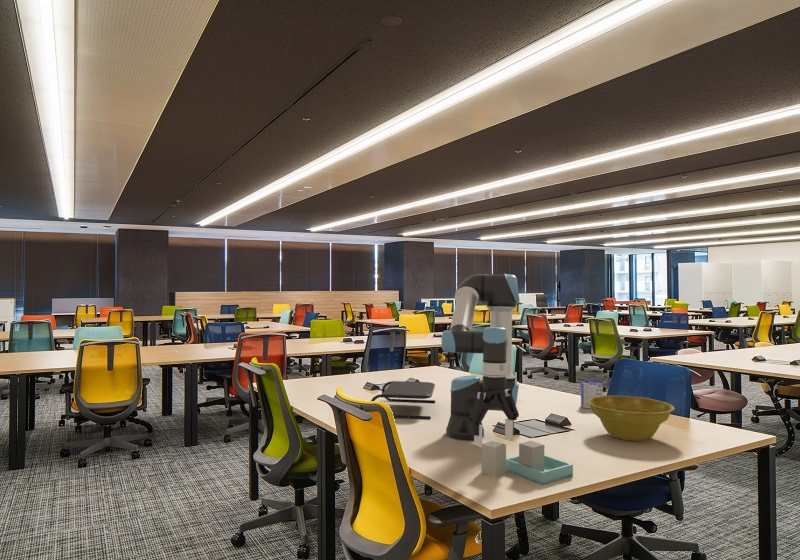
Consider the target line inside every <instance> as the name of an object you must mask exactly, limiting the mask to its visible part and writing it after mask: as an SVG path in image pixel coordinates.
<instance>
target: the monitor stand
mask: <svg viewBox="0 0 800 560" xmlns="http://www.w3.org/2000/svg"><path fill="white" fill-rule="evenodd" d="M435 388H436V384H435V383H433V382H428V381H404V380H403V381H401V380H399V381H397V380H391V381H388V382H386V383H385V384H384V385H383V386H382V388H381V393H380V394H377V395H375V396H374V397H372V398H371V399H370V402H371V401H374V402H375V401H376V400H377V399H379V398H384V399H385V400H386V401H388V402H396V403H400V402H401V403H403V402H404V403H423V404H424V403H425V404H428V403H429V404H436V400H435V399H433V400H432V399H431V397H432V396H433V393H434V390H435ZM430 399H431V400H430ZM393 415H394V418H393V419H409V420H410V419H412V420H413V419H414V420H431V419H432V417H431V416H429V415H428V416H427V415H408V414H406V415H404V414H393Z"/></svg>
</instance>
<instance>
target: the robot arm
mask: <svg viewBox="0 0 800 560" xmlns="http://www.w3.org/2000/svg"><path fill="white" fill-rule="evenodd" d="M518 287H519V285H518V279H517V276H516V275H514V274H509V273H508V274H507V273H484V274H483V273H477V274H473V275H470V276H468V277H467V278H465V279H464V280H463V281H462V282H461V283H460V284H459V285H458V286H457V288H456V290H455V293H454V300H455V306H454V311H453V313H452V314H453V315H452V319H451V324H450V329H448V330H443V331H442V333H441V349H442V351H443V352H444V353H453V354H454V353H456V354H457V353H459V354H462V353H463V354H481V355H482V375H483V376H482V379H481V377H480V376H479V375H464V376H463V375H462V376H458V377H455V378H453V379H452V380H451V381H450V382H451V383H450V385H451V386H450V415H449V416H450V417H449V419H448V423H447V426H446V429H445V435H446V436H447V437H450V438H453V439H455V440H463V441H464V440H467V441H471V440H473V441H474V442H473V444H474V446H476V447H479V448H482V444H483V438H484V436H485V430H484V429H485V428H484V426H483V420H484V418H485V416H486V415H487V413H488V411H497V412H500V411H501V412H503V413H504V415H505V416H506V418H505V419H504V421H505V422H504V428H505V429H504V440H508V441H511V442H513V441H514V429H515V421H517V420H518V418H519V416H520V414H519V410H518V408H517V401H518V393H519V388H520V387H519V386H520V382H519V381H517V380H516V376H515V375H514V374H513V372H512V371H513V370H512V366H513V365H512V360H513V357H512V354H513V352H512V351H513V350H512V349H513V348H512V347H513V346H512V345H513V343H512V342H513V311H515V310H516V308H517V304H520V295H519V288H518ZM478 303H482V304H484V303H485V304H486V309H487V310H489V313H490V314H489V315H490V316H489V318H490V319H489V326H486V327H484V328H483V331H482V330H481V331H480V330H479V331H477V330H473V322H474V315H475V311H476V306H477V305H478Z"/></svg>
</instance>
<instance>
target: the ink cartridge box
mask: <svg viewBox="0 0 800 560" xmlns="http://www.w3.org/2000/svg"><path fill="white" fill-rule="evenodd" d="M586 380H587V382H580V407H581V408H582V409H591V406H590V404H589V403H588V402H587V400H588V399H590V398H593V397H599V396H604V395H603V394H604V393H603V392H604V391H603V390H604V387H603V383H601V382H596V381H595V378H593V377H587V378H586Z"/></svg>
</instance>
